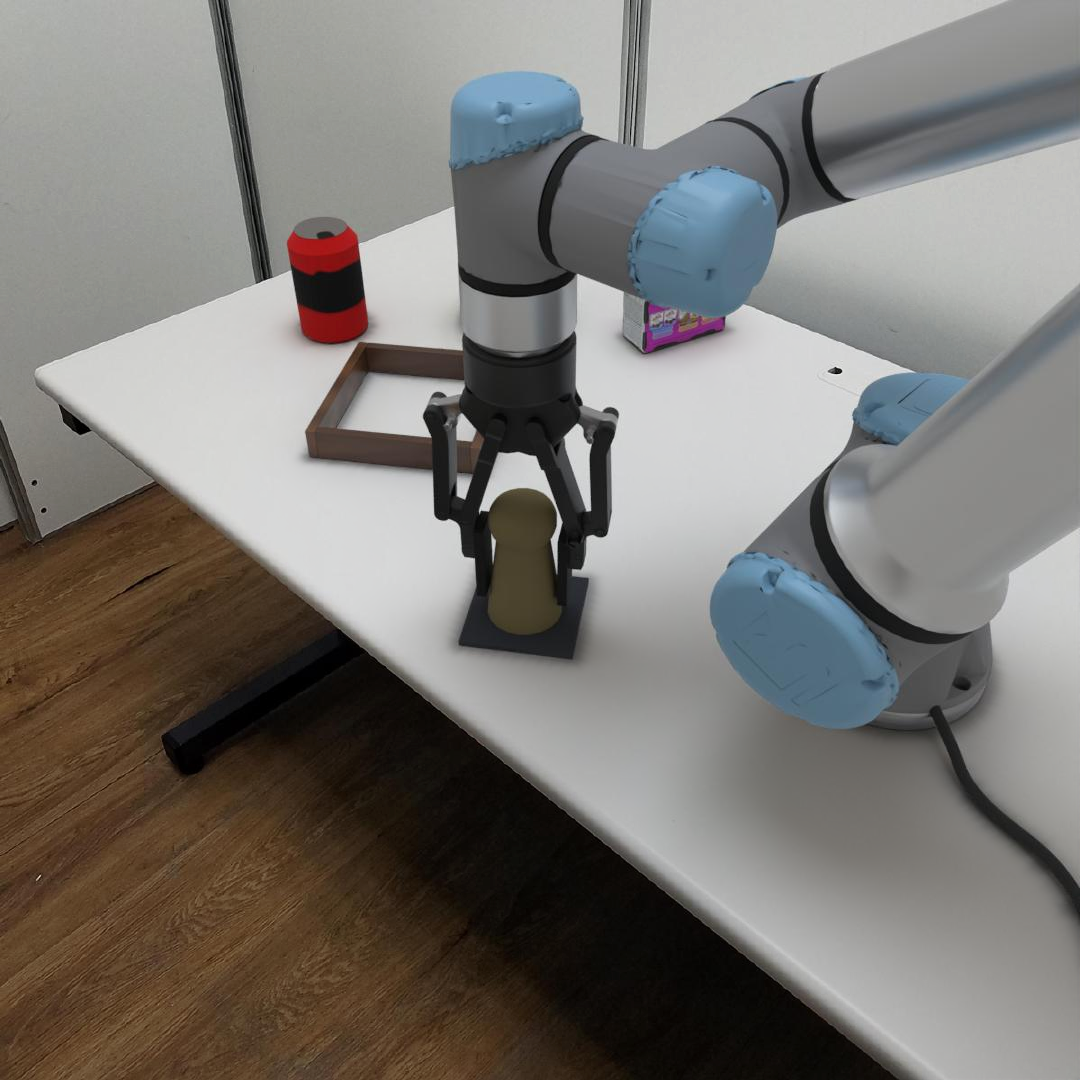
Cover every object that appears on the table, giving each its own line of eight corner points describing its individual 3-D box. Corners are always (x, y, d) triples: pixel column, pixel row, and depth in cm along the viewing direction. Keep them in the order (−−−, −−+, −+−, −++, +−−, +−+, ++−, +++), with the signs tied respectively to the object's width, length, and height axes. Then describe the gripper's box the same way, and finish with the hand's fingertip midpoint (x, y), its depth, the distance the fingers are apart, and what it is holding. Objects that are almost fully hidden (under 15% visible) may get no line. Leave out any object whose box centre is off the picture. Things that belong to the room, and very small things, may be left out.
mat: (572, 659, 82) (572, 655, 82) (458, 645, 83) (458, 641, 83) (588, 581, 89) (588, 577, 88) (483, 569, 90) (482, 565, 90)
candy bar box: (699, 311, 124) (713, 172, 113) (725, 330, 120) (742, 188, 110) (618, 335, 120) (624, 193, 109) (642, 355, 116) (651, 211, 106)
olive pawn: (525, 572, 89) (523, 466, 82) (577, 608, 86) (580, 500, 79) (471, 608, 86) (464, 501, 79) (523, 646, 83) (520, 538, 75)
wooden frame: (481, 474, 100) (480, 448, 98) (309, 457, 102) (304, 431, 101) (516, 379, 113) (515, 354, 111) (362, 365, 115) (358, 341, 113)
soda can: (311, 350, 118) (294, 248, 110) (294, 319, 123) (277, 220, 115) (377, 335, 120) (365, 234, 112) (357, 306, 125) (344, 208, 118)
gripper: (667, 313, 71) (647, 571, 86) (396, 292, 73) (422, 546, 89) (657, 372, 65) (637, 637, 80) (363, 347, 68) (397, 608, 83)
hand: (524, 589), depth 84 cm, fingers open, 6 cm apart
